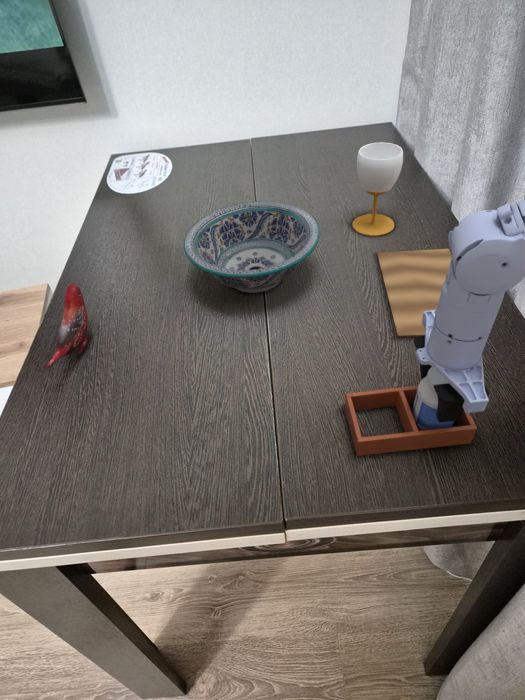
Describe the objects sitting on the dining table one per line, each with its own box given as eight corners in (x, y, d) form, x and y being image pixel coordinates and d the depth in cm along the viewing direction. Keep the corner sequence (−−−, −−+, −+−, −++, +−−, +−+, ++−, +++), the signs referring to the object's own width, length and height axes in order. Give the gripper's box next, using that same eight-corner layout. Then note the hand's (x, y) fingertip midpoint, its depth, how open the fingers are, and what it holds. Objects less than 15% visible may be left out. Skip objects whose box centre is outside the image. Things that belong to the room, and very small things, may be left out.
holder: (448, 396, 63) (453, 381, 60) (470, 443, 57) (477, 428, 55) (344, 408, 63) (345, 393, 61) (356, 456, 58) (358, 441, 55)
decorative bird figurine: (103, 320, 82) (82, 276, 75) (71, 394, 70) (43, 351, 62) (88, 320, 82) (66, 277, 75) (54, 395, 70) (24, 352, 63)
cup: (355, 213, 100) (359, 141, 89) (395, 215, 98) (406, 141, 86) (349, 234, 94) (353, 160, 83) (392, 237, 92) (403, 161, 81)
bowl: (344, 287, 82) (347, 243, 75) (222, 336, 76) (213, 293, 69) (282, 229, 98) (279, 188, 91) (177, 265, 92) (166, 225, 85)
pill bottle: (459, 433, 59) (479, 387, 52) (422, 443, 58) (436, 399, 51) (438, 402, 62) (453, 355, 55) (403, 411, 62) (414, 365, 55)
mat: (486, 334, 71) (487, 332, 70) (397, 337, 72) (397, 335, 71) (448, 250, 87) (449, 248, 87) (376, 254, 88) (377, 252, 88)
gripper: (405, 285, 52) (391, 362, 62) (450, 378, 42) (425, 452, 52) (464, 279, 52) (441, 356, 62) (523, 369, 42) (485, 445, 52)
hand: (437, 400), depth 57 cm, fingers closed on pill bottle, 5 cm apart
